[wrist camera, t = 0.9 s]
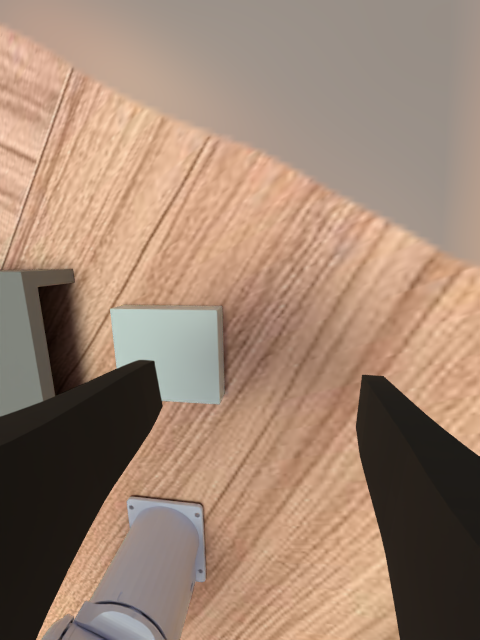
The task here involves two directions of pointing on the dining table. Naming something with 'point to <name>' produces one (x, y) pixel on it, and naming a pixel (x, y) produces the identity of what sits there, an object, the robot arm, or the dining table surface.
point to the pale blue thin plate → (174, 348)
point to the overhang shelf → (25, 338)
